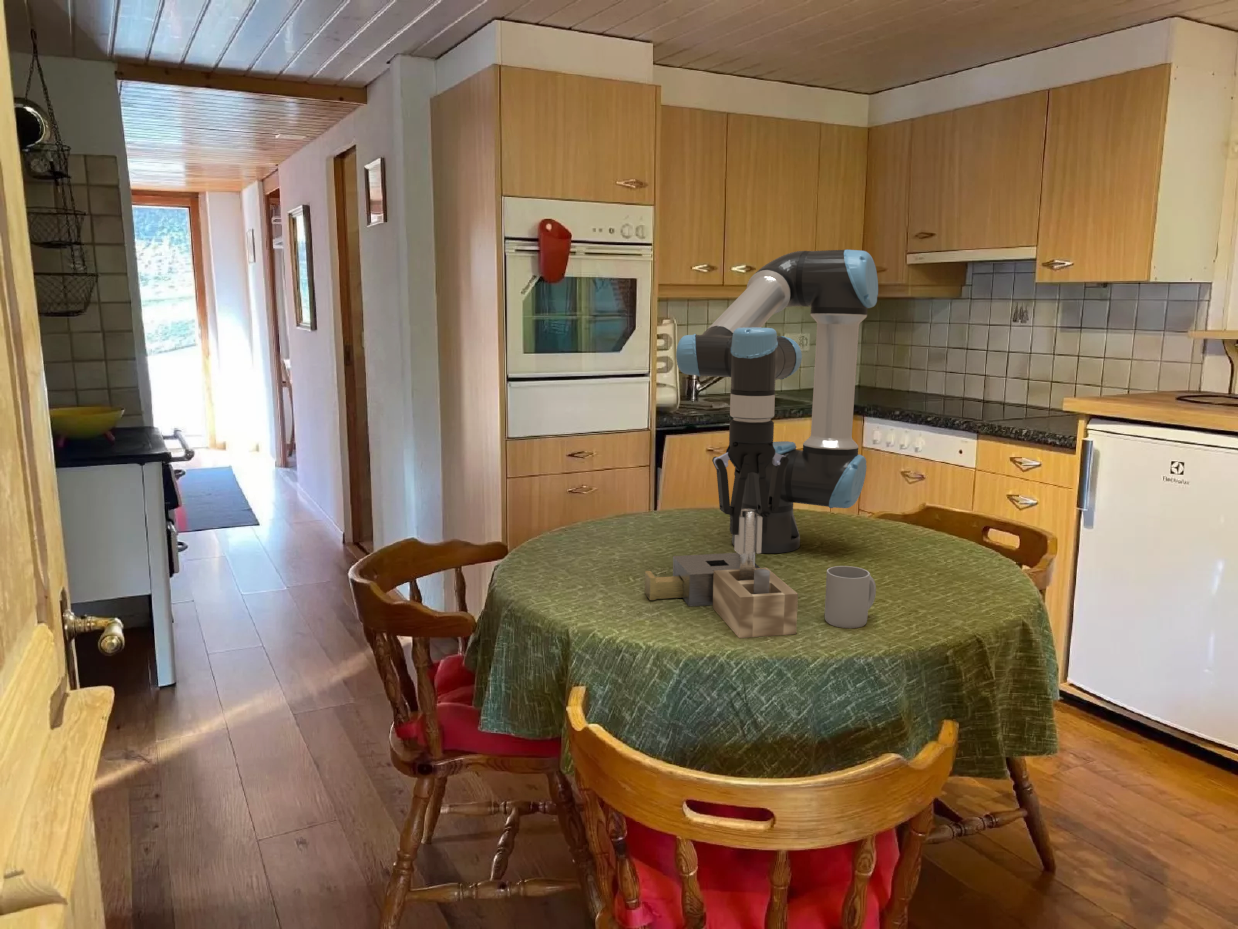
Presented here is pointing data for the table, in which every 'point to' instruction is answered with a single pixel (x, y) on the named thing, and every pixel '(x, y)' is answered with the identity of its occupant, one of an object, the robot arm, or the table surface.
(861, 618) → the cup
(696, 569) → the socket block
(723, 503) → the robot arm
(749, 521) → the round-ended peg
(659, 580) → the brass square peg
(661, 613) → the table surface
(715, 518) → the table surface
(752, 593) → the rack
